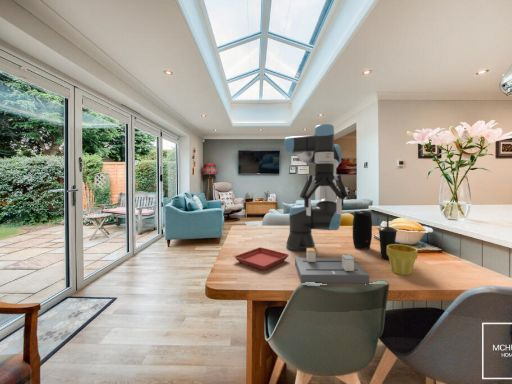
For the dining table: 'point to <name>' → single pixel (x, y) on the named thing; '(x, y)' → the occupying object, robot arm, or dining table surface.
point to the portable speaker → (362, 229)
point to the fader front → (348, 262)
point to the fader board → (329, 271)
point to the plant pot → (402, 258)
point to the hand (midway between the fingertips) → (323, 214)
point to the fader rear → (310, 254)
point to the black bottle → (386, 239)
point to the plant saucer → (261, 258)
